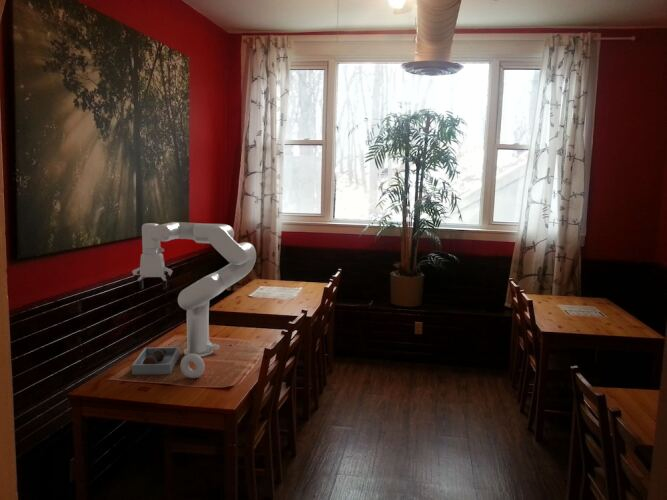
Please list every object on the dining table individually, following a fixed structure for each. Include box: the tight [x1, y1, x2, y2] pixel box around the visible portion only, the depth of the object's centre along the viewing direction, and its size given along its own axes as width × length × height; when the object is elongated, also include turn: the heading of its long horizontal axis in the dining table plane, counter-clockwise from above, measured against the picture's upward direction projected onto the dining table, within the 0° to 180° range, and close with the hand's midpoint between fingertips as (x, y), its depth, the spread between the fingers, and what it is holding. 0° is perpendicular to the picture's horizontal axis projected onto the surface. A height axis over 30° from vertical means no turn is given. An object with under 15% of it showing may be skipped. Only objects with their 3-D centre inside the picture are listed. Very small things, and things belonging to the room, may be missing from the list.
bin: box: [131, 346, 181, 376], centre depth 225 cm, size 15×21×4 cm
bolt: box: [143, 349, 166, 364], centre depth 225 cm, size 6×5×15 cm
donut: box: [179, 354, 206, 379], centre depth 212 cm, size 10×4×10 cm, turn 80°
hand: (153, 289), depth 239 cm, fingers open, 9 cm apart
